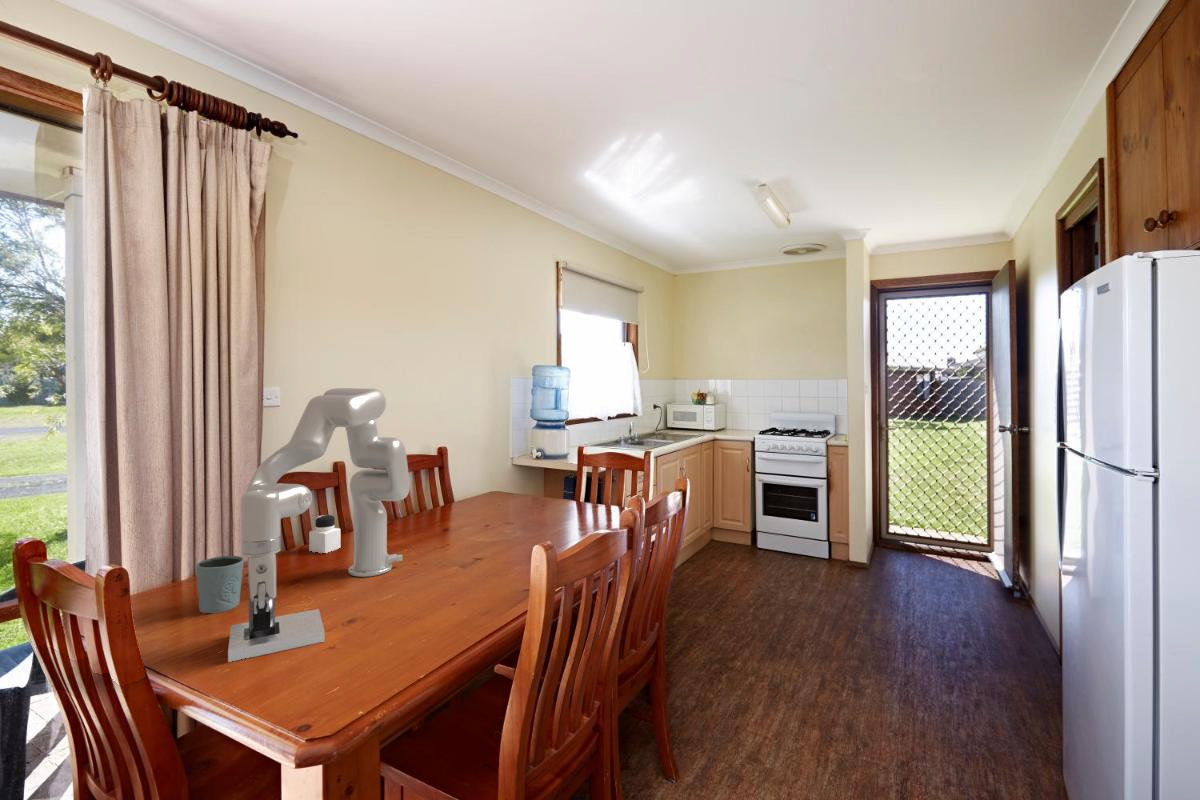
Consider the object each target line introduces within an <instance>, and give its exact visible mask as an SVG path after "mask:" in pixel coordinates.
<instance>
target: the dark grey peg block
mask: <svg viewBox="0 0 1200 800" xmlns="http://www.w3.org/2000/svg"><path fill="white" fill-rule="evenodd" d="M265 597H267V595H265ZM257 598H258V597H257V596H256V599H257ZM265 602H266V601H265ZM257 604H258V602H257ZM269 610H270V629H267V630H262V631H257V632H254V631H253V613H254V602H253V601H251V598H250V597H249V599H248V622H249V639H254V638H259V637H264V636H269V635H274V634H276V633H275V617H276V597H275V598H273V597H272V598H270V597H269ZM249 639H248V640H249Z"/></svg>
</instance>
